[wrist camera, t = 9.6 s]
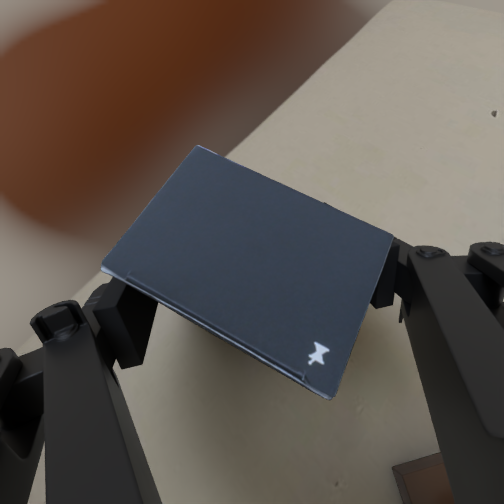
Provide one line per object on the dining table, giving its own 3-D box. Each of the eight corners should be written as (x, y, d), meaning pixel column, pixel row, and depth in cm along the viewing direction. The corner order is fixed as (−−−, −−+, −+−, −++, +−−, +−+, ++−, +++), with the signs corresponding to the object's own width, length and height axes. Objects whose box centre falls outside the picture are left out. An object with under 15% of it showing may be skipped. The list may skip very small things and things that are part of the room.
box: (317, 295, 18) (402, 233, 8) (281, 373, 16) (335, 413, 7) (220, 244, 19) (194, 136, 9) (176, 312, 18) (89, 267, 8)
